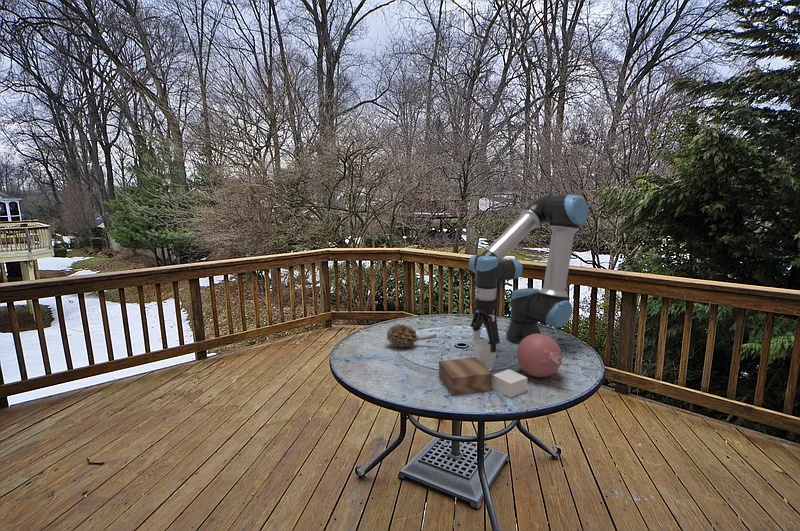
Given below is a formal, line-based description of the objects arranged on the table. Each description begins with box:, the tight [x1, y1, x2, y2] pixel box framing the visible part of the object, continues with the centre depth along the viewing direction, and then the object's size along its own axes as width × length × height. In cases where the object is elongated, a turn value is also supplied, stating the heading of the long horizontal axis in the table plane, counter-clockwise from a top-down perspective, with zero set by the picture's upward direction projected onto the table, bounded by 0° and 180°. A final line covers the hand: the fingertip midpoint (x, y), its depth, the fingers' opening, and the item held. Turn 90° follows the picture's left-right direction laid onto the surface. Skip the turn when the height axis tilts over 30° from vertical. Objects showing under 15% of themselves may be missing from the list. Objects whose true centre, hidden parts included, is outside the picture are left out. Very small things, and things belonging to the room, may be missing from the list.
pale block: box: [492, 368, 528, 398], centre depth 137 cm, size 8×8×5 cm
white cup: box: [473, 338, 495, 370], centre depth 153 cm, size 8×8×10 cm
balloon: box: [516, 333, 563, 378], centre depth 144 cm, size 15×20×15 cm
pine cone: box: [386, 324, 437, 348], centre depth 176 cm, size 22×10×10 cm, turn 92°
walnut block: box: [438, 356, 493, 396], centre depth 141 cm, size 14×14×6 cm
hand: (483, 353), depth 153 cm, fingers open, 13 cm apart
